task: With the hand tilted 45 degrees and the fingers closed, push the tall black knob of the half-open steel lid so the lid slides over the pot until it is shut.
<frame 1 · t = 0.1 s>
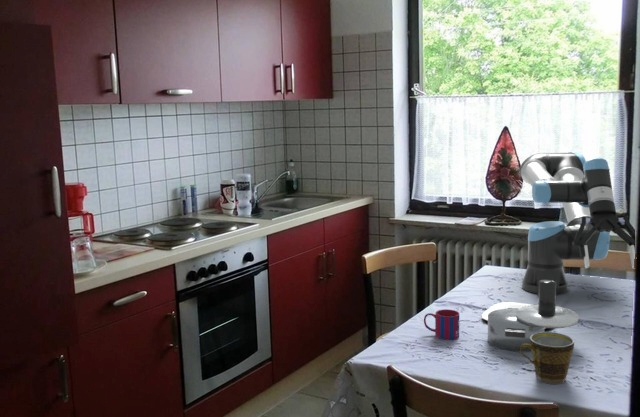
hand: (611, 266, 201), 15 cm above the table, tool tilted 35°, fingers open, 13 cm apart
cup: (441, 335, 192), on the table
lid: (547, 300, 181), point 12 cm above the table, slide at 8.0 cm
plate: (521, 319, 204), on the table
pot: (515, 341, 185), on the table
ceramic cup: (544, 380, 160), on the table
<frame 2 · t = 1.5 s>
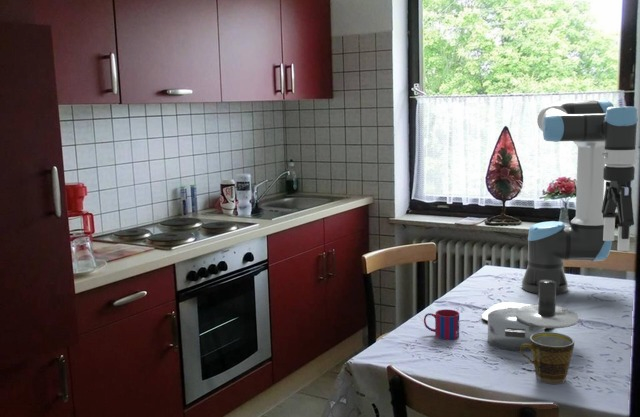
hand: (615, 245, 179), 27 cm above the table, tool pointing down, fingers open, 12 cm apart
nothing on the table moved.
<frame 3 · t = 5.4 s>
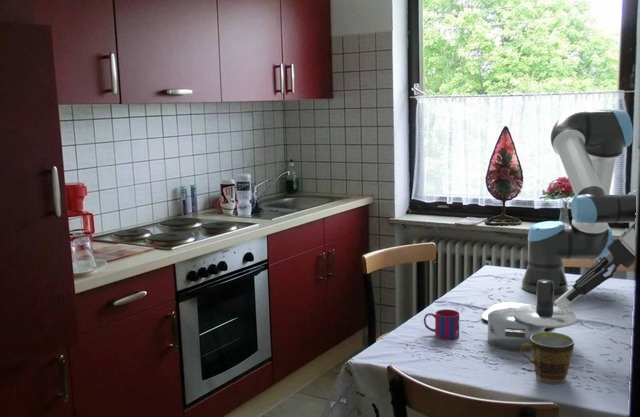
hand: (558, 305, 180), 11 cm above the table, tool tilted 45°, fingers closed
lid: (545, 300, 181), point 12 cm above the table, slide at 7.5 cm, touching gripper
everything else where it was.
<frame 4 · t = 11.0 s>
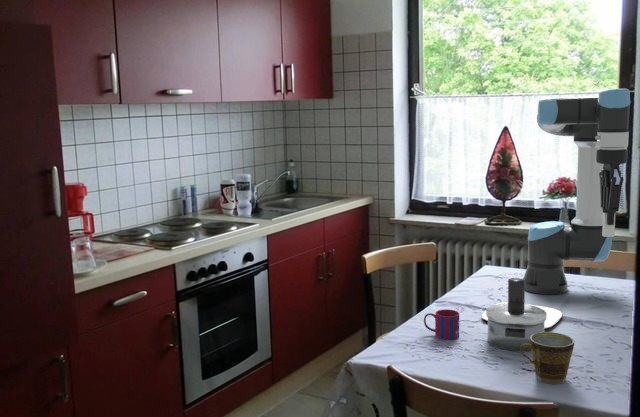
hand: (608, 236, 179), 29 cm above the table, tool pointing down, fingers closed
lid: (516, 298, 183), point 12 cm above the table, slide at 0.0 cm
everything else where it was.
at the end: lid slide at 0.0 cm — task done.
